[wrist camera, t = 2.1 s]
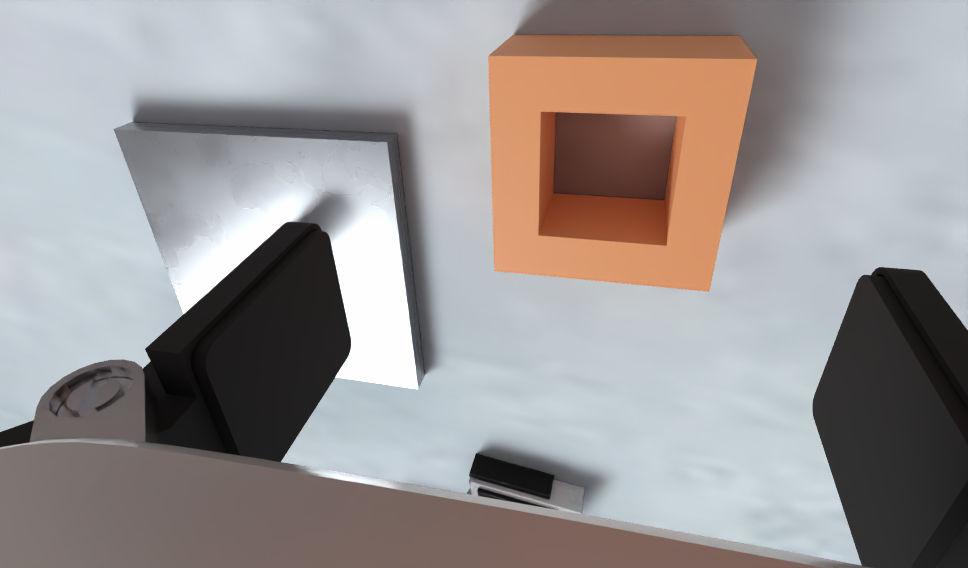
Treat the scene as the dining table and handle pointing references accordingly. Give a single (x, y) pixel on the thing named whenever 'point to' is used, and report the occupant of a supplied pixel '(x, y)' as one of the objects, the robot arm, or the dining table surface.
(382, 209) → the plate
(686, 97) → the orange square ring block
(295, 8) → the dining table surface
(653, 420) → the dining table surface
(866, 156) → the dining table surface
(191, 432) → the robot arm
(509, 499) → the handgun
